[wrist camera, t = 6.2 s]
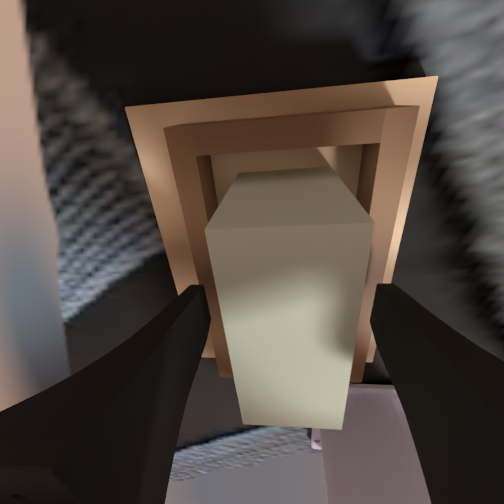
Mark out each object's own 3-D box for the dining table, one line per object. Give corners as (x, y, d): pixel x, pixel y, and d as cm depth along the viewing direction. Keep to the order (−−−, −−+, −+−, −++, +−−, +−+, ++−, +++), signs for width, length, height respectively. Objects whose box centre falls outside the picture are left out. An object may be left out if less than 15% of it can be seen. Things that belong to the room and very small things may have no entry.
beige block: (330, 166, 11) (374, 222, 6) (321, 320, 15) (341, 429, 10) (238, 172, 12) (204, 229, 6) (255, 320, 16) (243, 423, 11)
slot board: (368, 352, 18) (382, 391, 15) (199, 347, 19) (187, 383, 17) (427, 77, 10) (475, 69, 7) (134, 106, 11) (94, 107, 9)
